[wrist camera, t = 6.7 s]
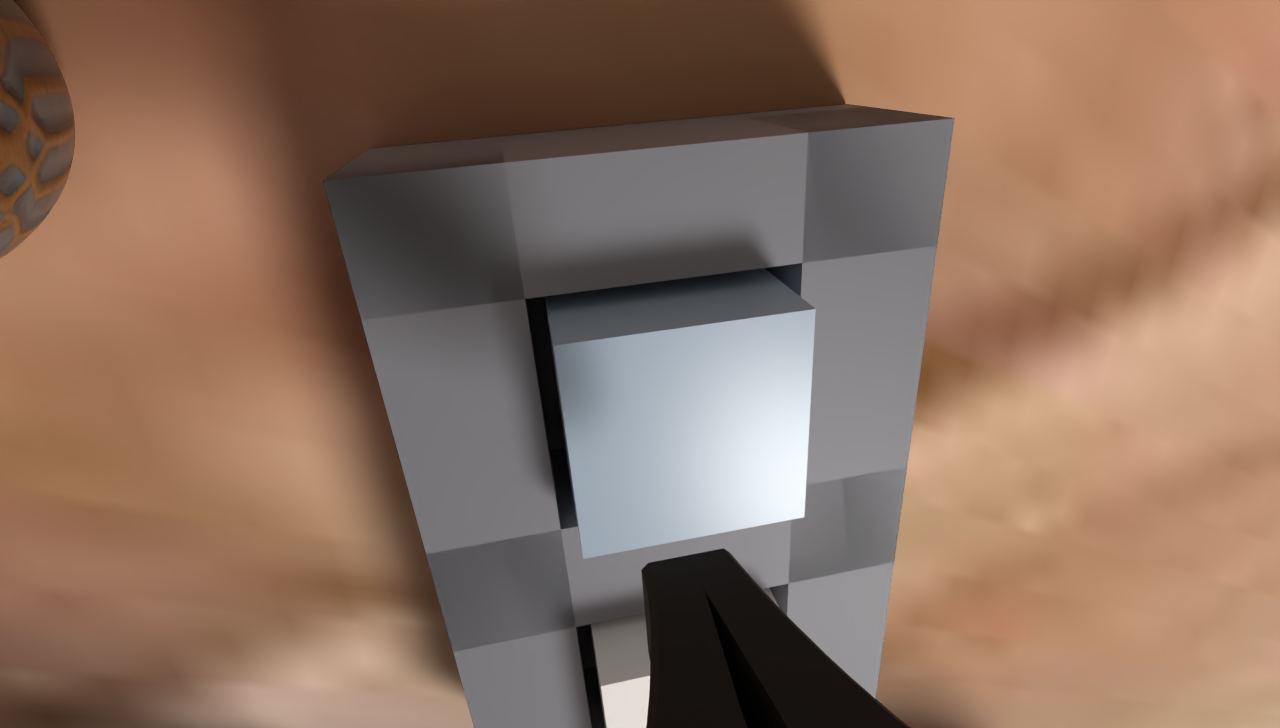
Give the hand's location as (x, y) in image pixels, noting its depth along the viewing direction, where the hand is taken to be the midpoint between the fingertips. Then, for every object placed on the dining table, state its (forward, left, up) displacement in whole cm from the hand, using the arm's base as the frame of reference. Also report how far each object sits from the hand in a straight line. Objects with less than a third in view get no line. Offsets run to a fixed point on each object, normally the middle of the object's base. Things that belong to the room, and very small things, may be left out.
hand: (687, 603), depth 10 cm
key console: (-4, -1, -9) cm, 10 cm away
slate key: (+1, -1, -7) cm, 8 cm away
